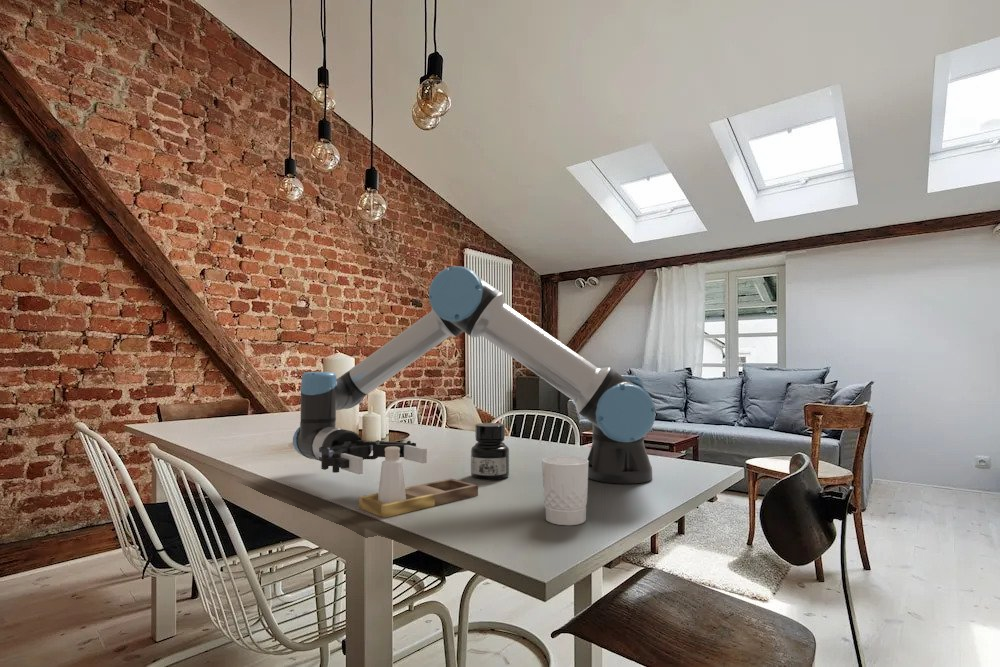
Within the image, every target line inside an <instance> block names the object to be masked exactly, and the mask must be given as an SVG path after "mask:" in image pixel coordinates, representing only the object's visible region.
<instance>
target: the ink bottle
mask: <svg viewBox="0 0 1000 667" xmlns="http://www.w3.org/2000/svg"><path fill="white" fill-rule="evenodd" d="M505 425H506V424H504V423H499V422H497V423H496V422H482V423H476V424H475V426H474V427H475V434H474V435H475V436H474V437H475V441H476V443H475V444H474V445H473V446H472V447H471V449H470V476H471V478H473V479H476V480H482V481H483V480H485V481H495V480H503V479H506V478H508V477H509V476H510V450H509V447H508V445H506V443H505V442H504V441H505V437H506V436H505V432H506V431H505V428H506V426H505Z"/></svg>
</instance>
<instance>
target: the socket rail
mask: <svg viewBox="0 0 1000 667" xmlns="http://www.w3.org/2000/svg"><path fill="white" fill-rule="evenodd" d="M378 493H379V492H377V493H372V494H366V495H363V496H359V497H358V500H359V501H358V504H359V505H358V508H359V509H361V510H364V511H366V512H368V513H371V514H374V515H376V516H378V517H381V518H384V519H385V518H389V517H393V516H398V515H402V514H406V513H410V512H415V511H418V510H423V509H427V508H432V507H436V506H439V505H443V504H448V503H452V502H453V503H454V502H457V501H459V500H460V501H461V500H465V499H468V498H472V497H473V498H474V497H477V496H479V485H477V484H474V483H470V482H466V481H463V480H459V479H454V478H448V479H442V480H438V481H432V482H427V483H422V484H417V485H412V486H407V487H406V486H405V494H406V500H401V501H397V502H392V503H388V504H385V503H383V502H380V501H378Z"/></svg>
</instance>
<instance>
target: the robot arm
mask: <svg viewBox="0 0 1000 667" xmlns="http://www.w3.org/2000/svg"><path fill="white" fill-rule="evenodd" d="M428 300H429V304H430V307H431V310H430V312H428V313H427V314H425V315H424V316H422V317H421V318H420V319H418V320H417V321H415V323H413V324H412V325H411V326H409V327H408V328H405V330H403V331H401V332H400V333H398V334H397V335H396V336H395V337H393V338H392V339H390V340H389V341H387V342H386V343H385V344H384V345H382V346H380V347H379V348H378V349H377V350H375V351H374V352H372V353H371V354H370V355H368V356H367V357H365V358H364V359H363V360H361V361H360V362H358V363H357V364H356V365H355V366H353V367H351V369H350V370H347V371H346V372H345V373H344V374H342V375H341V376H339V377H337V375H336V373H335V372H333V371H306V372H304V373H303V374H302V375H301V384H300V388H299V389H300V421H299V422H300V423H299V426H298V427H297V429H296V431H295V432H294V434H293V436H292V445H293V448H294V450H295V451H296V452H297V453H298V454H299V455H301V456H303V457H305V458H306V459H309V460H315V461H319V462H321V465H320V468H321V470H323V471H325V470H328V469H329V467H332V473H336V474H337V473H340V470H343V471H347V472H350V473H354V474H357V475H363V473H364V472H363V470H364V467H363V466H364V465H363V464H364V460H376V459H378V458H385V448H386V447H391V446H396V447H399V448H400V451H399V453H400V456H399V458H403V459H404V460H406V461H410V462H415V463H420V464H427V463H428V462H427V461H428V460H427V459H428V458H427V456H428V454H427V451H428V449H427V448H425V447H420V446H417V443H416V442H412V441H411V440H407V441H406V442H399V441H385V440H384V441H383V440H379V439H378V440H375V441H373V440H371V441H369V440H365V439H362V438H361V437H360V435H359V434H358V433H357V432H355V431H353V430H348V429H344V428H343V429H342V428H338V427H336V424H337V423H336V420H337V411H339V410H348V409H349V410H350V409H351V408H354V407H356V406H357V405H359V404H360V403H361V402H362V401H363V399H364V397H367V395H369V394H370V393H371V392H373V391H375V390H376V389H377V388H379V387H380V386H381V385H382V384H384V383H386V382H387V381H388V380H390V379H392V378H393V377H394V376H395V375H397V374H398V373H400V372H401V371H402V370H404V369H405V368H407V367H408V366H410V365H411V364H413V363H414V362H415V361H417V360H418V359H419V358H421V357H423V356H424V355H425V354H426V353H428V352H429V351H430V350H431V351H432V349H434V348H435V347H436V346H438V345H439V344H441V343H442V342H443V341H445V340H447V339H448V338H449V337H452V338H457V337H458V336H460V335H461V334H463V333H465V334H466V335H468V336H469V337H471V338H473V339H474V338H479V337H480V338H481V337H483V338H484V339H485V340H487V341H488V342H490V343H491V344H492V345H494V346H495V347H497V348H498V349H500V350H501V351H503V352H504V353H505V354H506V355H508V356H509V357H511V358H513V359H514V360H515V361H517V362H518V363H520V365H522V366H524V367H525V368H527V369H528V370H530V372H533V374H535V375H537V377H540V378H541V379H542V380H544V381H545V382H547V383H548V384H549V385H550V386H552V388H553V387H554V388H555V389H556V390H558V391H559V392H560V393H562V394H564V395H565V396H566V397H567V398H569V399H570V400H572V401H573V402H574V403H575V409H576V412H577V413H578V414H579V415H580V416H582V417H583V418H584V419H586V420H587V421H589V423H591V424H592V425H591V426H592V444H591V446H590V450H589V453H588V457H587V458H586V459H587V460H588V461H589V465H588V479H590V480H593V481H597V482H601V483H606V484H607V483H609V484H623V485H625V484H627V485H629V484H640V483H641V484H642V483H647V482H650V481H651V480H653V466H652V465H651V462H650V458H649V455H648V452H647V449H646V447H645V442H644V441H645V436H646V435H647V434H648V433H650V431H651V429H652V428H653V426H654V422H655V421H656V407H655V404H654V401H653V399H652V397H651V394H649V392H648V391H647V390H646V389H645V386H644V383H643V382H644V381H643V379H642V378H641V377H640V376H636V375H626V374H625V375H623V374H620V373H619V372H617V371H616V370H614V369H612V368H611V367H610V366H607V367H598V366H596V365H595V364H593V363H591V362H590V361H589V360H588V359H585V358H584V357H583V356H582V355H580V354H578V353H577V352H576V351H574V350H573V349H571V348H570V347H568V346H567V345H566V344H564V343H563V342H561V341H560V340H559V339H557V338H556V337H554V336H552V335H551V334H550V333H548V332H546V331H545V330H544V329H543V328H541V327H540V326H538V325H537V324H535V323H534V322H532V321H531V320H529V319H528V318H527V317H525V316H524V315H523V314H521V313H519V312H518V311H517V310H515V309H514V308H512V307H511V306H509V305H508V304H507V303H506V298H505V295H504V293H503V292H501V291H500V290H499V289H497V288H496V287H494V286H493V285H492V284H490V283H488V282H487V280H484V279H483V278H481V277H480V276H478V274H477V273H476V272H475V271H474V270H472V269H471V268H469V267H466V266H461V265H453V266H449V267H446V268H444V269H442V270H441V271H438V273H437V274H436V275H435V276H434V277H433V279H432V281H431V283H430V286H429V288H428ZM371 454H372V455H371Z"/></svg>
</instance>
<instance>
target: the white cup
mask: <svg viewBox="0 0 1000 667" xmlns="http://www.w3.org/2000/svg"><path fill="white" fill-rule="evenodd" d="M587 459H588V458H584V457H580V456H579V457H578V456H572V455H571V456H570V455H554V456H547V457H544V458H542V459H541V466H542V467H541V470H542V486H543V499H544V500H543V502H544V506H545V507H544V508H545V520H546V521H547V522H549V523H551V524H554V525H558V526H577V525H581V524H584V523H585V522H586V520H587V504H588V493H589V492H588V490H589V478H588V465H589V461H588V460H587Z"/></svg>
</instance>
